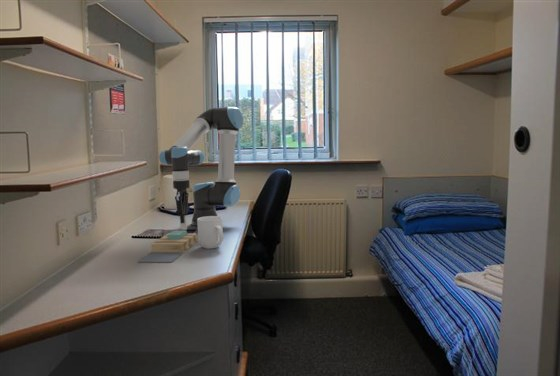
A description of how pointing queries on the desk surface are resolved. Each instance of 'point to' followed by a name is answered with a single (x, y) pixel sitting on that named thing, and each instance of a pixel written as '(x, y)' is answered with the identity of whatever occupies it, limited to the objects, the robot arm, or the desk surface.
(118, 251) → the desk surface
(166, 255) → the mat
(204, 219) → the mug
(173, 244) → the board
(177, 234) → the teal rectangular block
